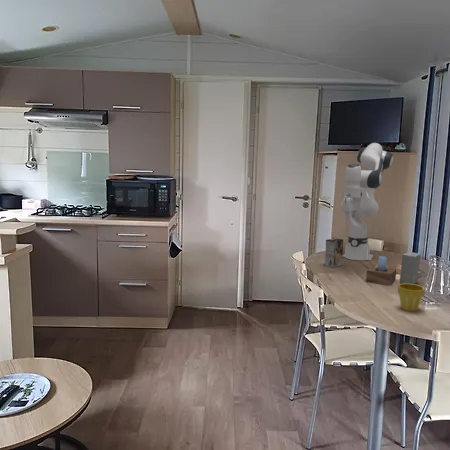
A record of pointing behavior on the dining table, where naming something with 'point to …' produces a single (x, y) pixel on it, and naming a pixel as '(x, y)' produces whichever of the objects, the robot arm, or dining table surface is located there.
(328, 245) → the coffee box
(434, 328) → the dining table surface
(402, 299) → the plant pot
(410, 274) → the skincare box
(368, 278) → the socket block
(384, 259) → the pin
